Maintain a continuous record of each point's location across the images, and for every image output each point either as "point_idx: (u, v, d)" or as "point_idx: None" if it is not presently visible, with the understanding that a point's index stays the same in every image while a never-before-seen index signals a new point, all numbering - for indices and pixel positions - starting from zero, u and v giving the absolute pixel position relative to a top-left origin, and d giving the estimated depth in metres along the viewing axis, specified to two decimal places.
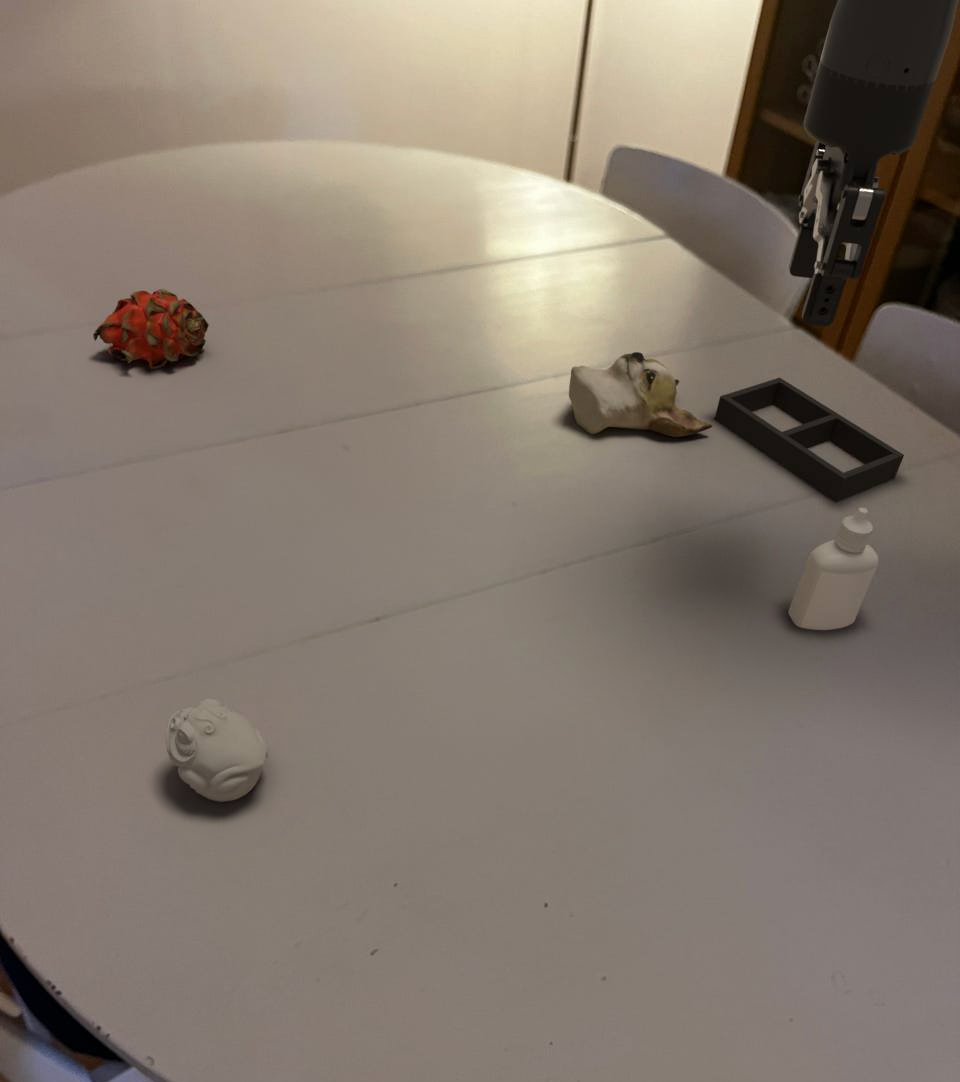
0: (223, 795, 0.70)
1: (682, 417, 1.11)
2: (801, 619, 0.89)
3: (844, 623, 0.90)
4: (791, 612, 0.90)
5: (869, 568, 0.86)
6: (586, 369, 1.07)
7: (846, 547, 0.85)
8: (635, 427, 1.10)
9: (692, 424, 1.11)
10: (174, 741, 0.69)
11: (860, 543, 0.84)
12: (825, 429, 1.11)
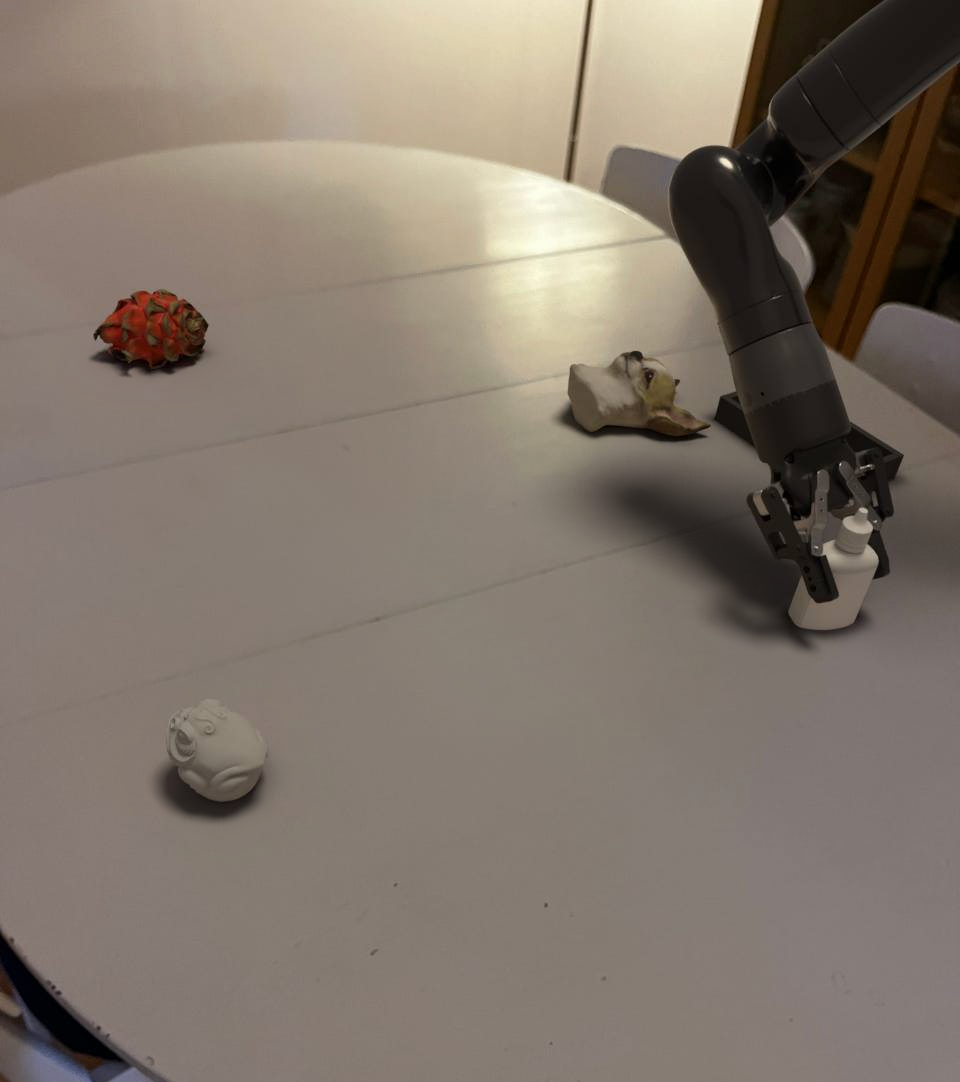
0: (223, 795, 0.70)
1: (680, 417, 1.11)
2: (801, 619, 0.89)
3: (844, 623, 0.90)
4: (791, 612, 0.90)
5: (869, 569, 0.86)
6: (584, 366, 1.08)
7: (847, 547, 0.84)
8: (633, 426, 1.10)
9: (691, 423, 1.11)
10: (174, 741, 0.69)
11: (860, 543, 0.84)
12: None
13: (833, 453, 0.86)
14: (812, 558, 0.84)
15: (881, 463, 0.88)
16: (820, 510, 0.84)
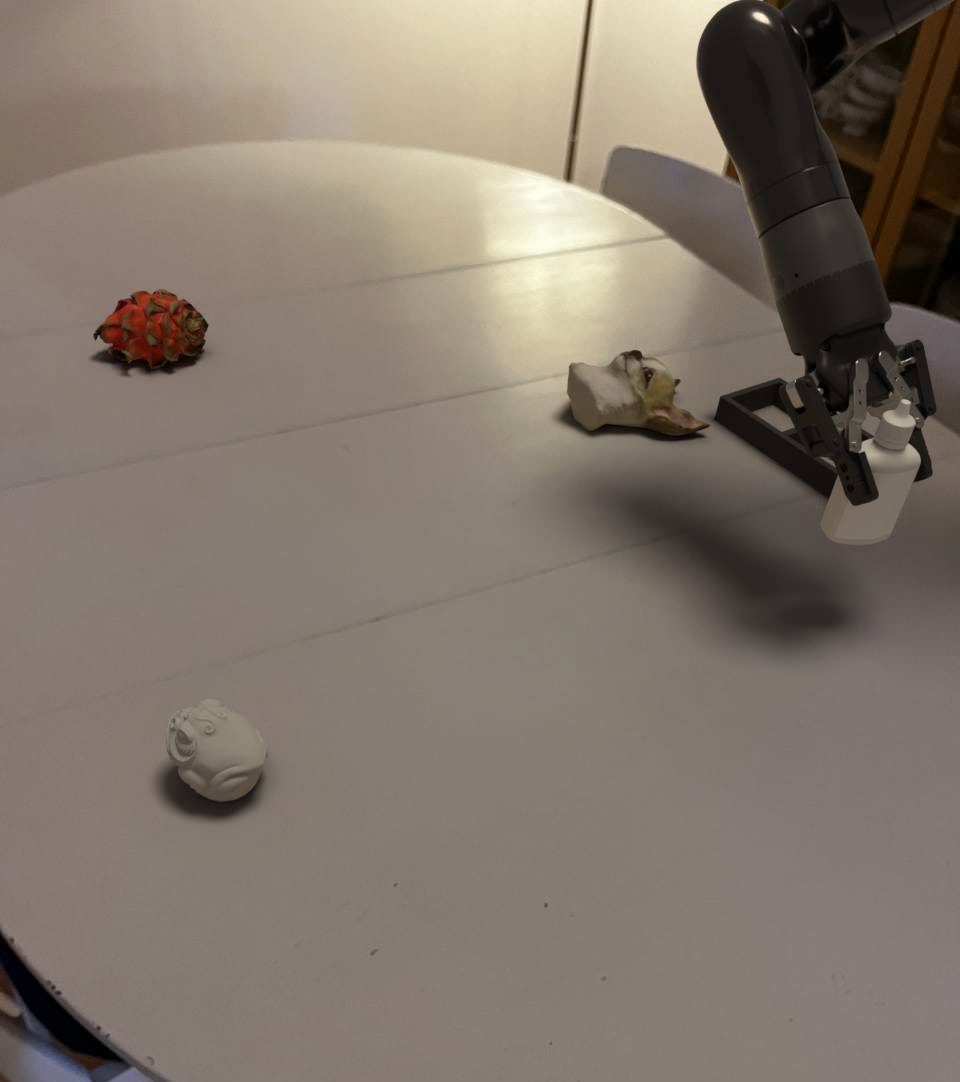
0: (223, 795, 0.70)
1: (680, 416, 1.11)
2: (836, 526, 0.83)
3: (882, 532, 0.83)
4: (825, 520, 0.84)
5: (911, 468, 0.79)
6: (584, 365, 1.08)
7: (887, 444, 0.78)
8: (632, 425, 1.11)
9: (690, 423, 1.11)
10: (174, 741, 0.69)
11: (902, 438, 0.78)
12: None
13: (872, 343, 0.79)
14: (850, 455, 0.78)
15: (923, 357, 0.82)
16: (859, 402, 0.77)
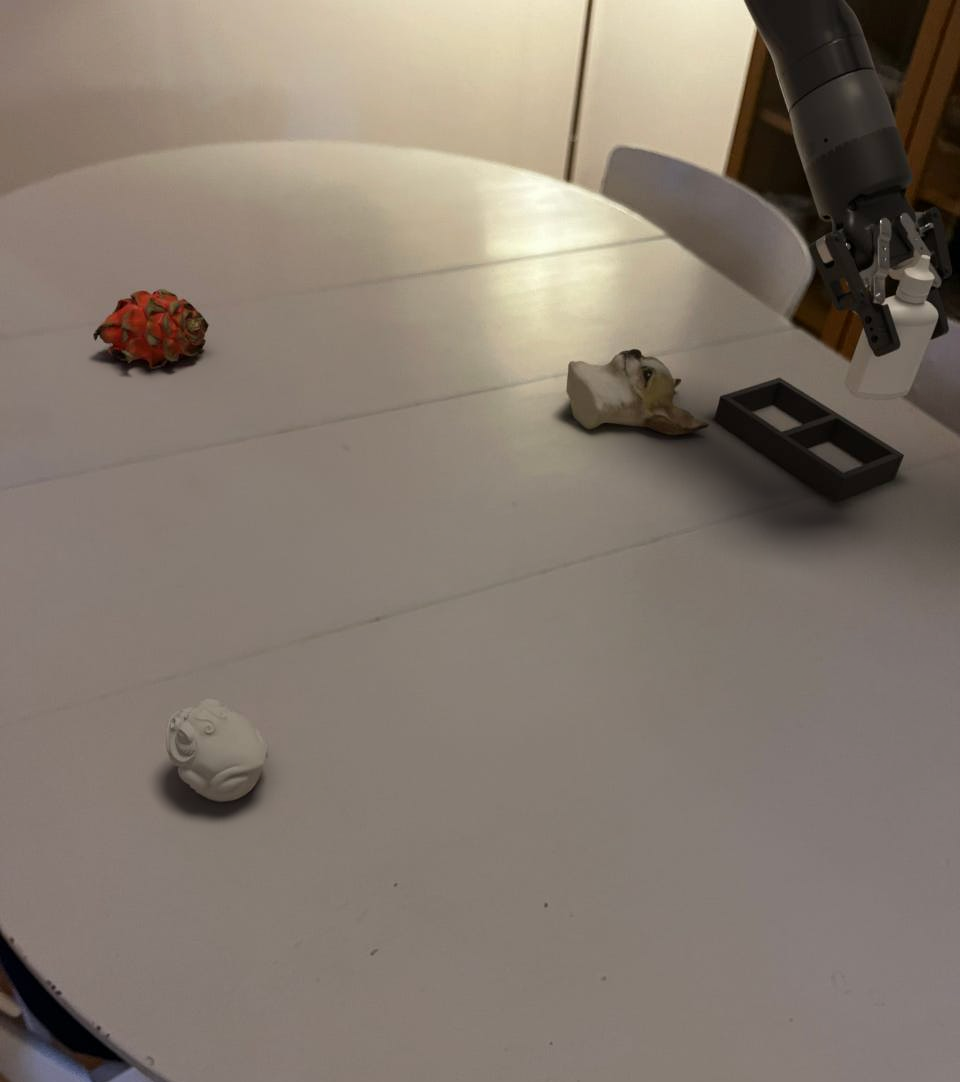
0: (223, 795, 0.70)
1: (679, 416, 1.11)
2: (860, 380, 0.90)
3: (902, 387, 0.90)
4: (849, 377, 0.91)
5: (930, 322, 0.86)
6: (583, 364, 1.08)
7: (908, 297, 0.85)
8: (631, 424, 1.11)
9: (689, 423, 1.11)
10: (174, 741, 0.69)
11: (922, 292, 0.85)
12: (825, 429, 1.11)
13: (894, 207, 0.86)
14: (874, 307, 0.85)
15: (940, 223, 0.89)
16: (882, 258, 0.84)
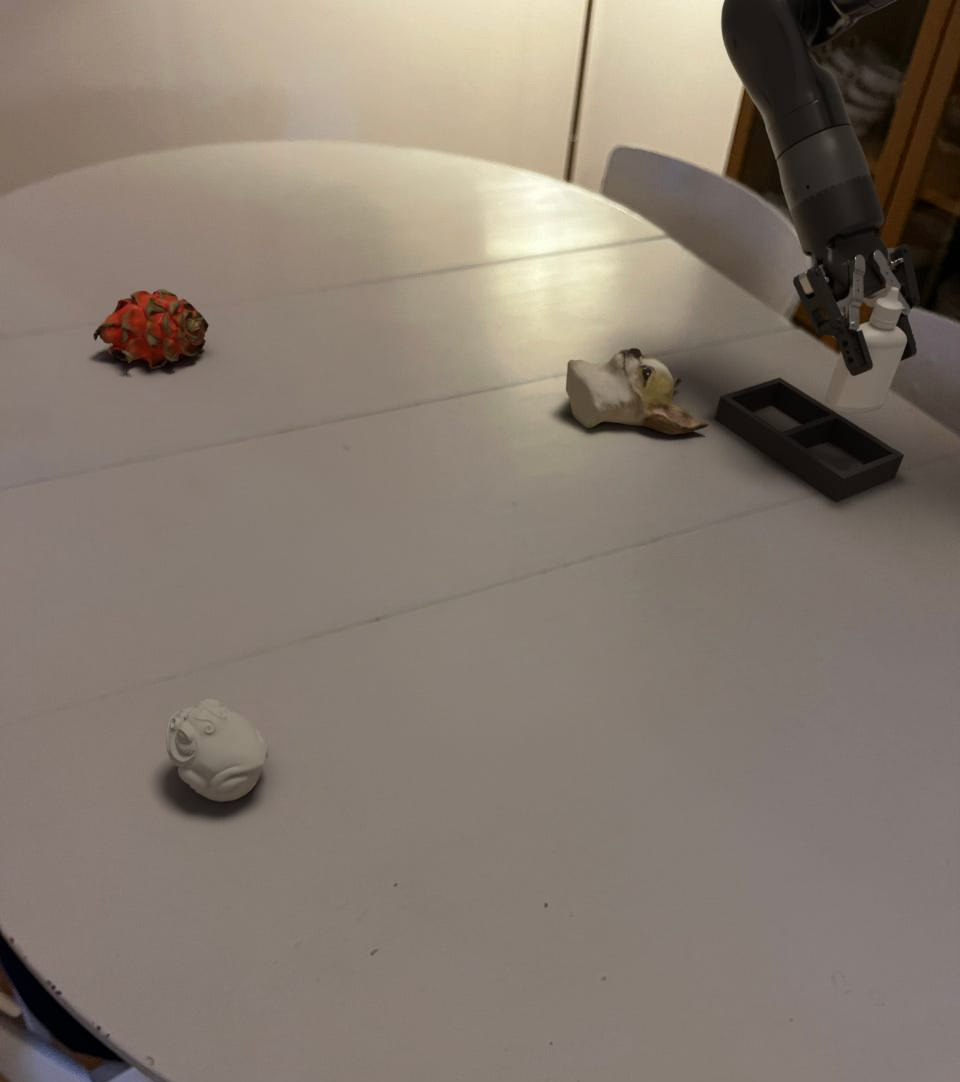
0: (223, 795, 0.70)
1: (678, 415, 1.11)
2: (838, 396, 1.01)
3: (875, 402, 1.02)
4: (829, 393, 1.03)
5: (899, 345, 0.98)
6: (582, 362, 1.08)
7: (880, 324, 0.97)
8: (630, 423, 1.11)
9: (688, 422, 1.11)
10: (174, 741, 0.69)
11: (892, 319, 0.96)
12: (825, 429, 1.11)
13: (868, 244, 0.98)
14: (850, 332, 0.97)
15: (909, 258, 1.00)
16: (857, 290, 0.96)
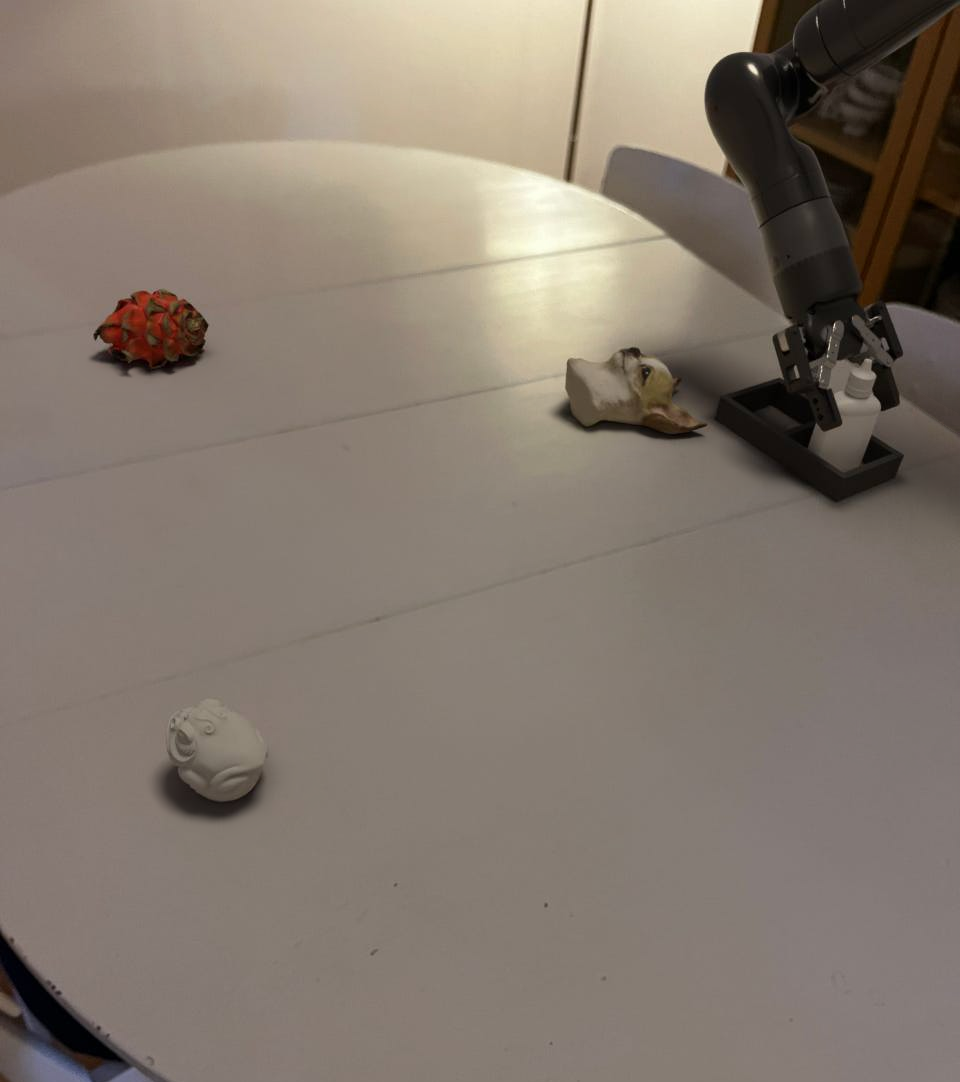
0: (223, 795, 0.70)
1: (677, 415, 1.11)
2: None
3: (852, 464, 1.07)
4: None
5: (873, 412, 1.03)
6: (582, 361, 1.09)
7: (854, 393, 1.02)
8: (629, 422, 1.11)
9: (687, 422, 1.11)
10: (174, 741, 0.69)
11: (866, 389, 1.01)
12: None
13: (847, 309, 1.02)
14: (820, 391, 1.00)
15: (886, 313, 1.05)
16: (832, 352, 1.00)
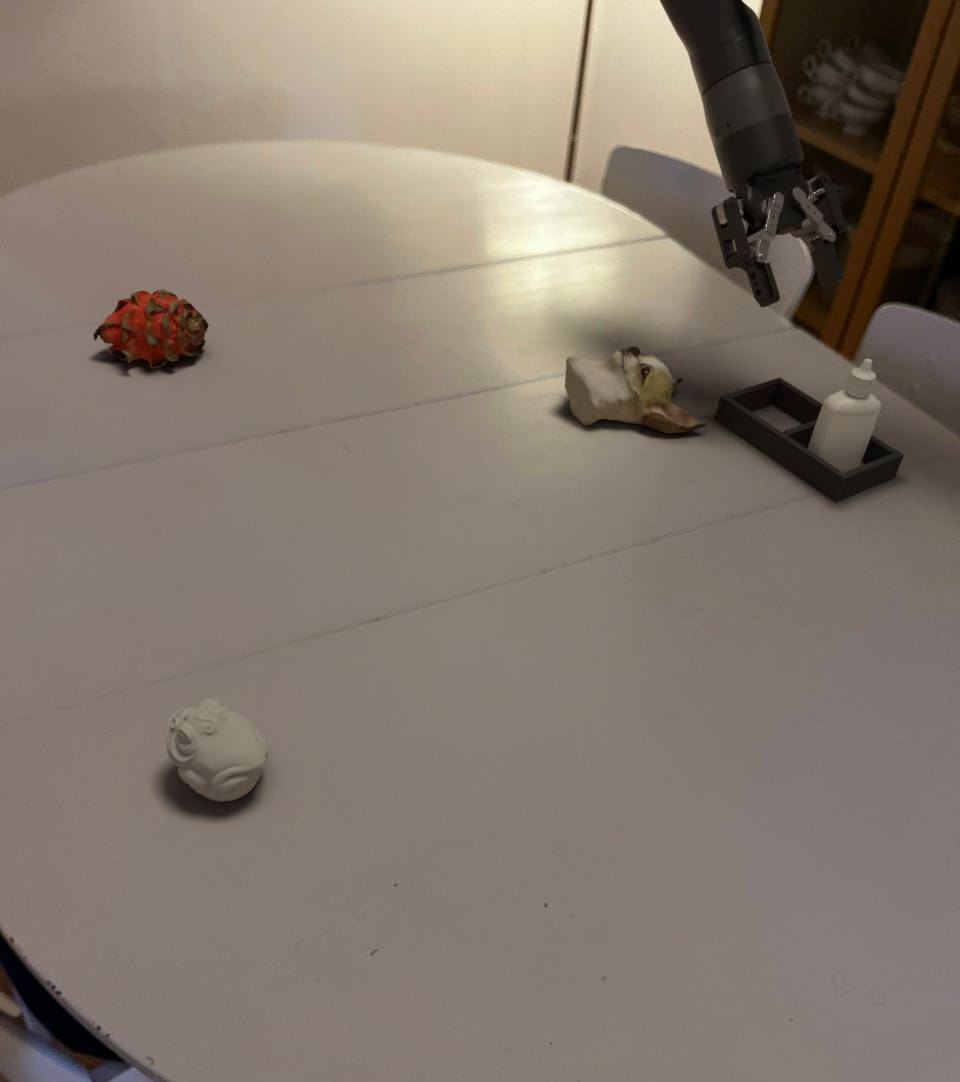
0: (223, 795, 0.70)
1: (676, 414, 1.11)
2: None
3: (852, 464, 1.07)
4: None
5: (873, 412, 1.03)
6: (581, 360, 1.09)
7: (854, 393, 1.02)
8: (629, 421, 1.11)
9: (686, 422, 1.11)
10: (174, 741, 0.69)
11: (866, 389, 1.01)
12: None
13: (789, 181, 1.01)
14: (757, 265, 1.00)
15: (830, 185, 1.04)
16: (770, 225, 0.99)
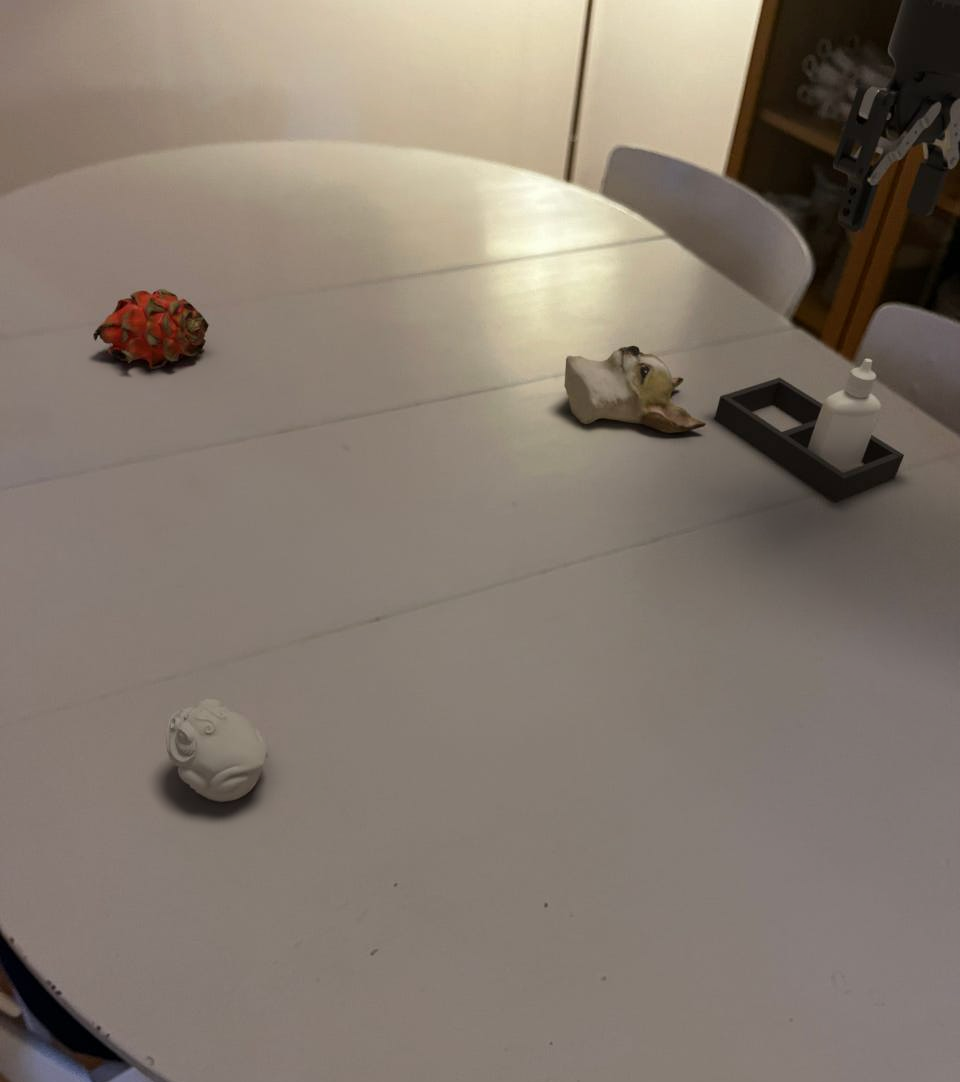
0: (223, 795, 0.70)
1: (676, 414, 1.11)
2: None
3: (852, 464, 1.07)
4: None
5: (873, 412, 1.03)
6: (581, 359, 1.09)
7: (854, 393, 1.02)
8: (628, 420, 1.11)
9: (686, 421, 1.11)
10: (174, 741, 0.69)
11: (866, 389, 1.01)
12: None
13: (956, 82, 0.78)
14: (865, 183, 0.80)
15: None
16: (907, 142, 0.78)
